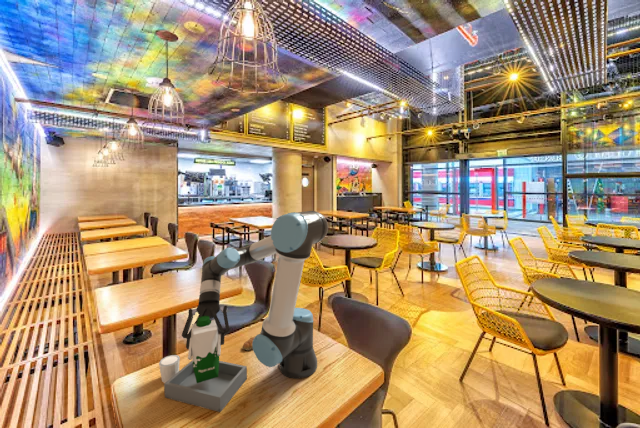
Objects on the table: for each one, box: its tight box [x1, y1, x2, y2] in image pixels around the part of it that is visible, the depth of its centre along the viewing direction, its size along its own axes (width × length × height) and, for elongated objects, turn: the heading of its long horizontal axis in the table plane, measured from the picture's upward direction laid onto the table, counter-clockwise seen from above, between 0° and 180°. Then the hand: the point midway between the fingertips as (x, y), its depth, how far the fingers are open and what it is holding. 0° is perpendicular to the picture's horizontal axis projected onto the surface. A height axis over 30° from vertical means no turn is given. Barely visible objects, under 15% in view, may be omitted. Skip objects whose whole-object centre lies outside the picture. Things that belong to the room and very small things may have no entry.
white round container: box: [158, 354, 181, 384], centre depth 103 cm, size 7×7×7 cm
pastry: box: [242, 335, 256, 351], centre depth 124 cm, size 9×7×4 cm
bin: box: [163, 360, 248, 413], centre depth 98 cm, size 22×16×5 cm
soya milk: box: [191, 316, 220, 383], centre depth 97 cm, size 9×9×20 cm
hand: (204, 356), depth 94 cm, fingers closed on soya milk, 9 cm apart
